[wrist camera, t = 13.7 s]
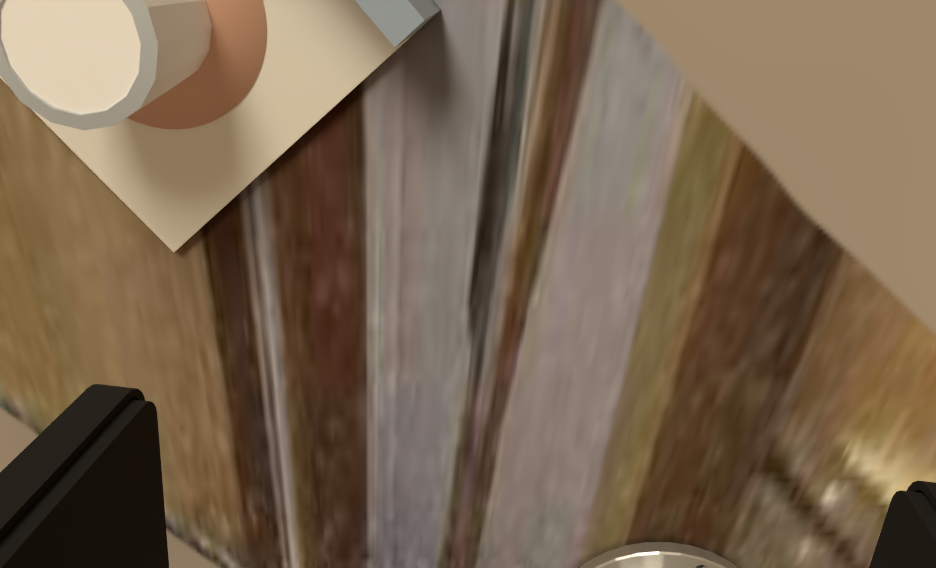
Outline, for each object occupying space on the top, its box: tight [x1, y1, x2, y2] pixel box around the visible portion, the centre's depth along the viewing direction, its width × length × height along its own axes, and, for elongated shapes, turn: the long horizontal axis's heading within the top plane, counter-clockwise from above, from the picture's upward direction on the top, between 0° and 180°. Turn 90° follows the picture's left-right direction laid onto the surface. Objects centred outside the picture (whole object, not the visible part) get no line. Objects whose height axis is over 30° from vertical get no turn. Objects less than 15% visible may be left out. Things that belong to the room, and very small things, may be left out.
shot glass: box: [0, 0, 212, 130], centre depth 35 cm, size 7×7×7 cm
